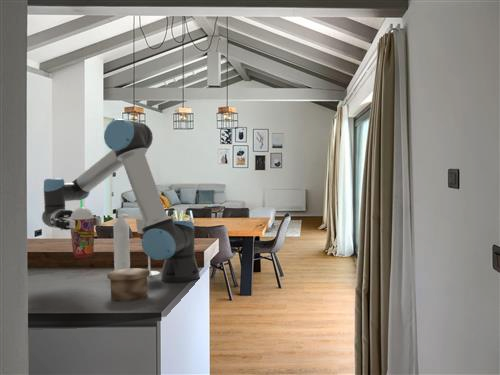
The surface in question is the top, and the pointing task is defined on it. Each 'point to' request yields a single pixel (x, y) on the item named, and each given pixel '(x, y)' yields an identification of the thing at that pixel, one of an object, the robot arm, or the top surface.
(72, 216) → the smoothie
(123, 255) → the water bottle
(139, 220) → the wineglass
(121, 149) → the robot arm
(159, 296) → the top surface
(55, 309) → the top surface
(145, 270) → the tan muffin-shaped cylinder
